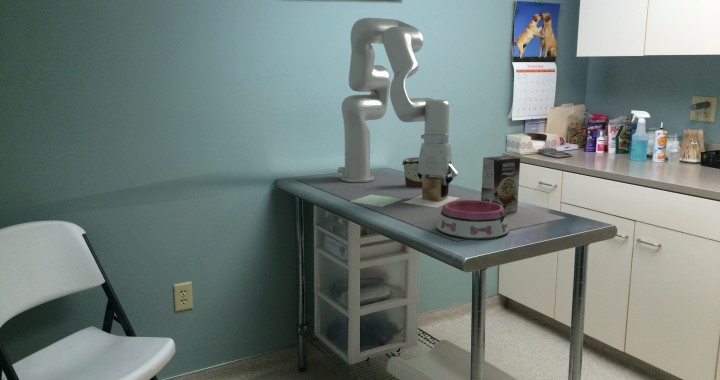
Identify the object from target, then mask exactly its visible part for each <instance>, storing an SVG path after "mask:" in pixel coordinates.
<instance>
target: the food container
mask: <svg viewBox="0 0 720 380" xmlns="http://www.w3.org/2000/svg"><path fill="white" fill-rule="evenodd" d="M418 164H419V156H418V157H406V158H403V160H402V163H401V166H403V172H404V184H405V187H406V188H422V182H421V180H420V178H419V177H418V175H417V174H416V173H415V172H414V168H415V167H416V166H417V165H418Z"/></svg>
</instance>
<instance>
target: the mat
mask: <svg viewBox="0 0 720 380" xmlns="http://www.w3.org/2000/svg"><path fill="white" fill-rule="evenodd" d="M402 200H403V199H402V198H397V197H390V196H386V195H385V196H384V195H383V196H382V195H379V194H378V195H377V194H368V195H365V196H363V197H358V198H356V199H352V200H350V201H349V203H353V204H354V203H355V204H359V205H366V206H372V207H373V206H374V207H378V208H383V207H386V206H389V205H391V204H395V203H397V202H400V201H402Z"/></svg>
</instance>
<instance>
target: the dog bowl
mask: <svg viewBox="0 0 720 380" xmlns="http://www.w3.org/2000/svg"><path fill="white" fill-rule="evenodd" d="M506 216H507V213H505V211H504V208H503V206H501V205H499V204H497V203H493V202H488V201H481V200H479V199H478V200H477V199H462V200H461V199H457V200H454V201H451V202H448V203H446V204H444V205H442V208H441V211H440V216H439V219H438V223H437V226H436V230H437V232H438V233H440V234H442V235H443V236H447V237H449V238H453V239H460V240H469V241H489V240H497V239H498V240H499V239H502V238H505V237H507V236H508V235H509V234H510V231H509V227H508V223H507V218H506Z"/></svg>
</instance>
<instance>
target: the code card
mask: <svg viewBox="0 0 720 380" xmlns="http://www.w3.org/2000/svg"><path fill="white" fill-rule="evenodd" d="M457 200H460V197H457V196H456V197H455V196H449V195H448V198H447V199H445V200H442V201H440V202H436V201H429V200H423V199H422V195H419V196H416V197H413V198H411V199H408V200H406V201H402V204H403V203H405V204H411V205H418V206H424V207H429V208H431V207H432V208H435V209H437V208H439V207H443V206H444V204H446V203H448V202H451V201H457Z"/></svg>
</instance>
